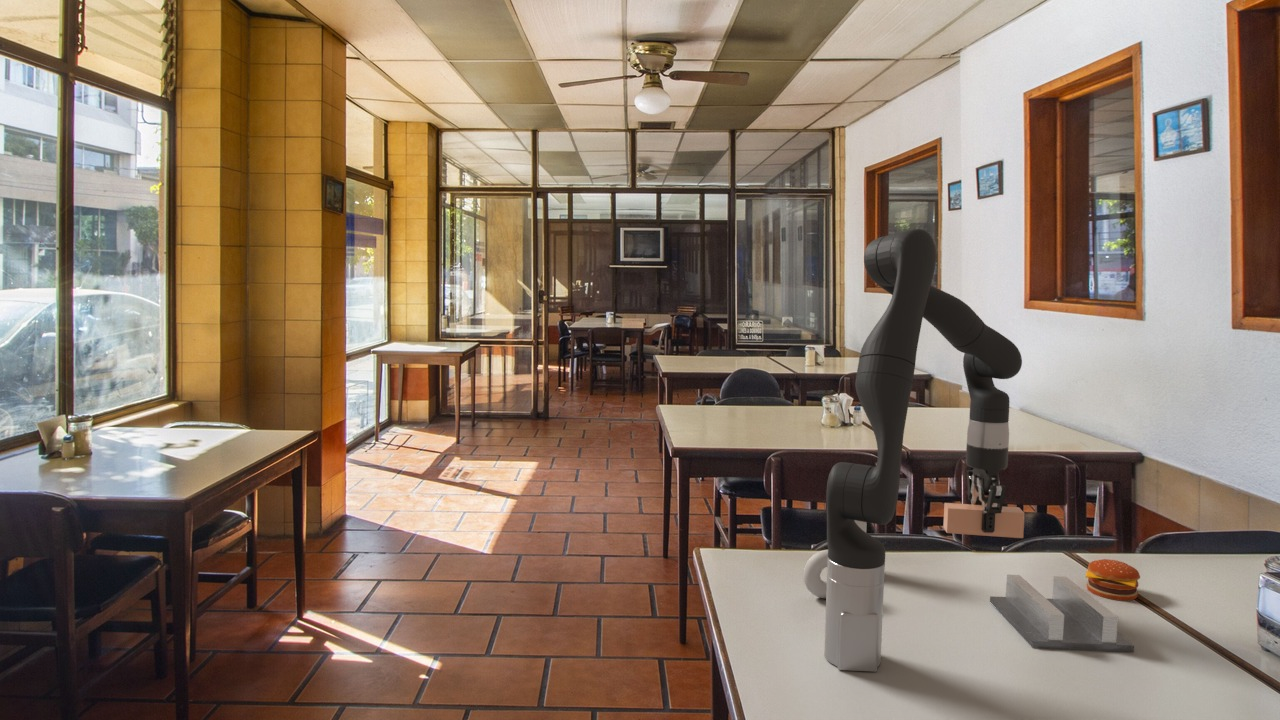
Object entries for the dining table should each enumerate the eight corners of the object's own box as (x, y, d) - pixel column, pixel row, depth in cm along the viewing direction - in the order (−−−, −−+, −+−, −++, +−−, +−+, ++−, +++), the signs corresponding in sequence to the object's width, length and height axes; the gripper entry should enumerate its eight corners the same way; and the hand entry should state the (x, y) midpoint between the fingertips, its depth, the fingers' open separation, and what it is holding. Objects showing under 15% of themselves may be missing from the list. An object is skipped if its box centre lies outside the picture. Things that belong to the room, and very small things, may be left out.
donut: (806, 602, 156) (808, 554, 155) (799, 596, 159) (801, 548, 158) (853, 599, 157) (855, 551, 157) (845, 593, 161) (847, 545, 160)
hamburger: (1083, 594, 162) (1085, 563, 161) (1088, 581, 170) (1090, 551, 169) (1137, 605, 156) (1139, 573, 156) (1140, 591, 164) (1142, 560, 164)
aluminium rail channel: (1133, 652, 136) (1136, 618, 135) (1032, 647, 137) (1034, 614, 137) (1077, 605, 156) (1079, 576, 155) (989, 602, 157) (991, 573, 156)
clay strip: (1023, 538, 152) (1024, 513, 152) (946, 533, 155) (948, 508, 154) (1017, 531, 156) (1019, 507, 156) (943, 526, 159) (944, 502, 158)
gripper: (1022, 451, 146) (1017, 540, 148) (992, 436, 161) (988, 518, 162) (982, 450, 147) (977, 539, 148) (955, 435, 161) (951, 517, 163)
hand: (982, 527), depth 155 cm, fingers closed on clay strip, 4 cm apart
